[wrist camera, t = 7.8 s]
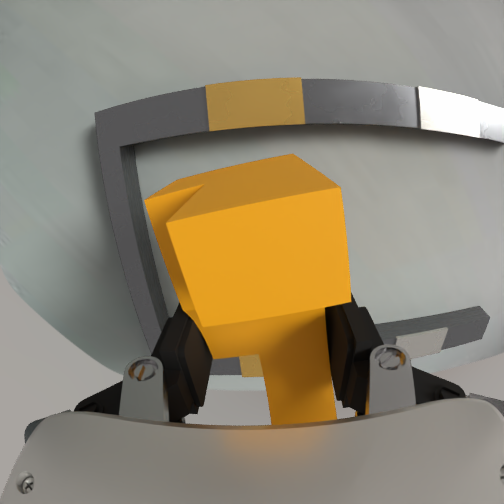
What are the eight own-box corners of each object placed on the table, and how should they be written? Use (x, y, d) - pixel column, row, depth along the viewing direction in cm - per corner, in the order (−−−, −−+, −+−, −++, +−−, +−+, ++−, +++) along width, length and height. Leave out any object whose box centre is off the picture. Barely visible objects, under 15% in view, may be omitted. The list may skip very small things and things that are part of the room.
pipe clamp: (176, 180, 10) (79, 245, 4) (293, 153, 10) (340, 187, 4) (248, 396, 15) (242, 499, 9) (325, 385, 14) (343, 488, 8)
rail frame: (505, 113, 14) (522, 114, 12) (472, 327, 22) (482, 340, 20) (110, 112, 16) (92, 111, 14) (165, 357, 24) (158, 374, 22)
